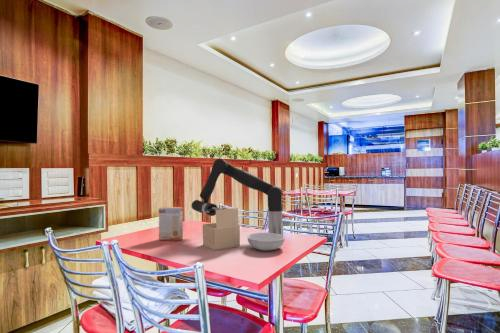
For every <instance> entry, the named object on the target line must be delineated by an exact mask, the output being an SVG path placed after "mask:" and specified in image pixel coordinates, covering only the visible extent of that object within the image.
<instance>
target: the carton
mask: <svg viewBox="0 0 500 333" xmlns="http://www.w3.org/2000/svg"><path fill="white" fill-rule="evenodd" d="M240 226H241V225H240V224H239V225H238V226H231V227H224V228H216V222H211V223H205V224H202V244H203V246H205V247H206V248H208V249H210V250H212V251H214V252H217V251H222V250H226V249H227V250H228V249H233V248H238V247H240V246H241V240H240V239H241V237H240V236H241V232H240V230H241V228H240Z"/></svg>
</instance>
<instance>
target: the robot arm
mask: <svg viewBox="0 0 500 333" xmlns="http://www.w3.org/2000/svg"><path fill="white" fill-rule="evenodd" d="M221 174H223V175H226V176H228V177H231V178H232V179H233V180H235V181H236V182H237V183H240V184H241V185H243V186H245V187H247V188H249V189H252V190H255V191H259V192H261V193H263V194H265V195H266V196H267V208H268V210H267V212H268V215H267V216H268V221H267V223H268V233H275V234H280V235H283V236H284V221H283V205H282V204H283V202H282V199H283V198H282V196H283V190H282V189H281V188H280V187H279V186H276V185H273V184H271V183H269V182H267V181H265V180H263V179H261V178H260V177H259V176H256V175H255V174H253V173H251V172H249V171H246V170H244V169H240V168H238V167H235V166H234V165H232V164H231V163H229V162H227V161H226V160H225V159H223V158H217V159H215V160H214V162H213V164H212V167H211V169H210V174H209V175H208V178H207V180H206V181H205V184H204V186H203V188H202V189H201V192H200V194H199V197H200V198H201V199H202V201H201V200H199V199H196V200H194V201H192V202H191V209H192V210H193V211H196V212H199V213H201V214H204V215H207V216H211V217H214V216H216V210H222V209H226V208H225V207H222V208H220V207H218V205H217V204H215V203H210V201H209V200H210V198H211V196H212V194H213V192H214V190H215V188H216V183H217V181H218V178H219V177H220V175H221Z"/></svg>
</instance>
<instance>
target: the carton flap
mask: <svg viewBox="0 0 500 333" xmlns="http://www.w3.org/2000/svg"><path fill="white" fill-rule="evenodd" d="M221 209H222V208H221ZM239 221H240V220H239V208H238V207H235V208H225V209H222V210H216V215H215V223H216V228H224V227H231V226H238V225H240V224H239Z"/></svg>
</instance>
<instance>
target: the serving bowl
mask: <svg viewBox="0 0 500 333" xmlns="http://www.w3.org/2000/svg"><path fill="white" fill-rule="evenodd" d="M285 239H286V238H285V236H284V234H283V235H280V234H275V233H269V232H256V233H251V234H249V235H247V242H248V244H249V245H250V246H251V247H252V248H253V249H257V250H259V251H264V252H266V251H267V252H269V251H273V250H277V249H279V248H281V247H282V246H283V244H284V242H285Z"/></svg>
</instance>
